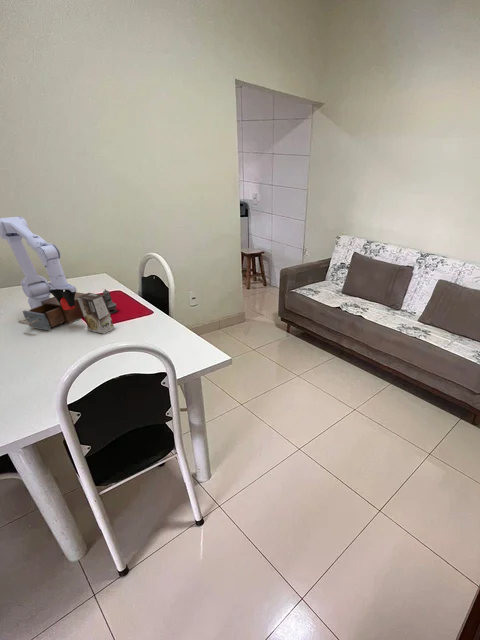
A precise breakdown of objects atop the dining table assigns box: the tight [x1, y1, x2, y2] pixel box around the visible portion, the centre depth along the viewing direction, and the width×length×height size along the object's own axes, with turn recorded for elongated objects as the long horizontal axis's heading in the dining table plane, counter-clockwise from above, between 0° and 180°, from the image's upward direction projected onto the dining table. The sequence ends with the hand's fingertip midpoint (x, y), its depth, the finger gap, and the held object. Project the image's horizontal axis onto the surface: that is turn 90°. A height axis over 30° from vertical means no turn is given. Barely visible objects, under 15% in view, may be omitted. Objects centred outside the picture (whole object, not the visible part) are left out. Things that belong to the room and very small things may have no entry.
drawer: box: [17, 304, 67, 331], centre depth 148 cm, size 19×11×7 cm, turn 163°
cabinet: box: [41, 291, 85, 325], centre depth 158 cm, size 16×13×9 cm
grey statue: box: [102, 288, 119, 315], centre depth 163 cm, size 6×6×12 cm
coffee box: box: [77, 292, 115, 335], centre depth 145 cm, size 9×6×16 cm
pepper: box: [60, 296, 75, 310], centre depth 145 cm, size 5×5×6 cm
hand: (67, 305), depth 145 cm, fingers closed on pepper, 4 cm apart
